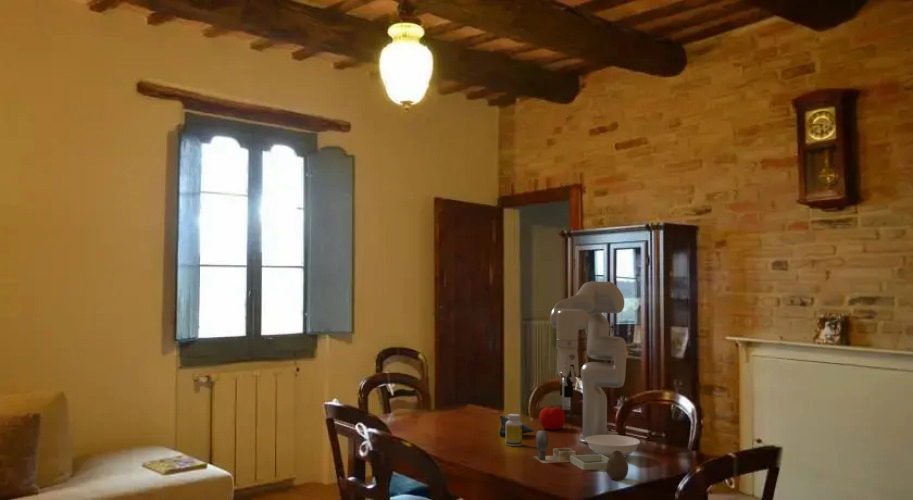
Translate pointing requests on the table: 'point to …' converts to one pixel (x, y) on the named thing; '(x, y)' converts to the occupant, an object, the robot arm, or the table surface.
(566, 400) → the lock pin
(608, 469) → the vase
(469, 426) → the table surface
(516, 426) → the pill bottle
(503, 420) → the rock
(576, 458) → the tray
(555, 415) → the tomato
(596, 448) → the bowl
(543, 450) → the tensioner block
